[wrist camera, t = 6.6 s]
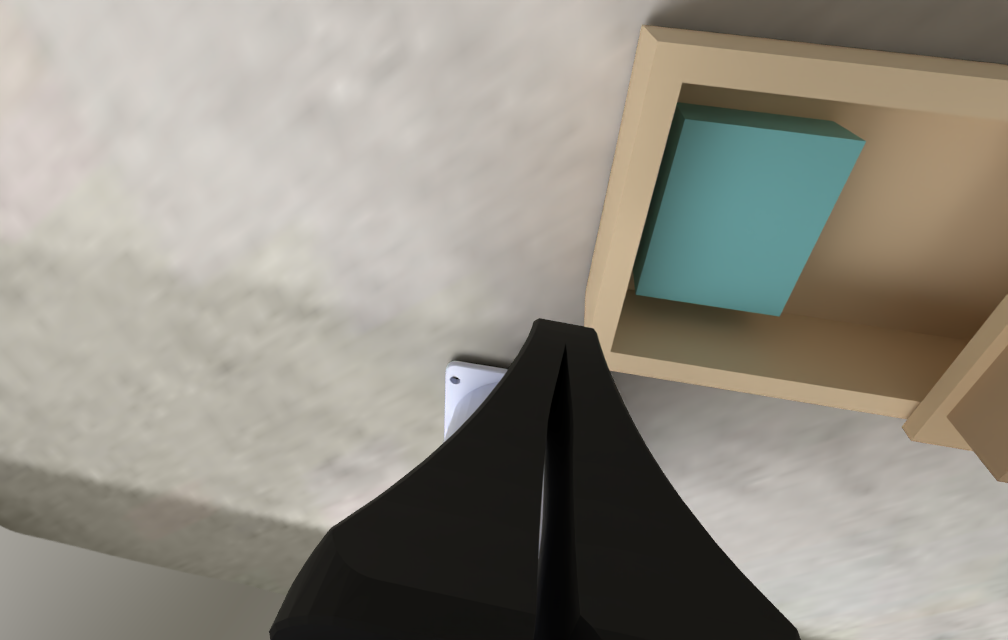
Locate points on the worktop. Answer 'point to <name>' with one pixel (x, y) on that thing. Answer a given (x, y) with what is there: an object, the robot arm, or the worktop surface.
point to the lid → (972, 399)
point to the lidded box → (801, 218)
